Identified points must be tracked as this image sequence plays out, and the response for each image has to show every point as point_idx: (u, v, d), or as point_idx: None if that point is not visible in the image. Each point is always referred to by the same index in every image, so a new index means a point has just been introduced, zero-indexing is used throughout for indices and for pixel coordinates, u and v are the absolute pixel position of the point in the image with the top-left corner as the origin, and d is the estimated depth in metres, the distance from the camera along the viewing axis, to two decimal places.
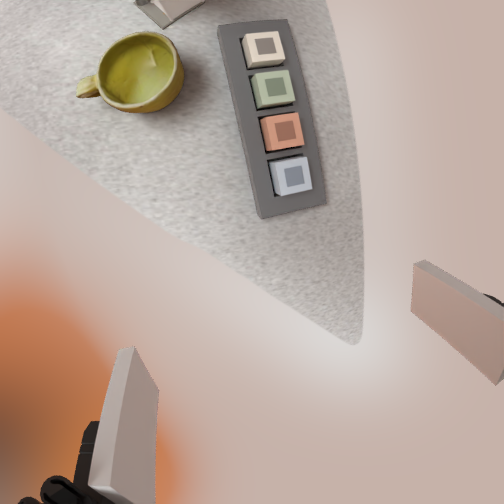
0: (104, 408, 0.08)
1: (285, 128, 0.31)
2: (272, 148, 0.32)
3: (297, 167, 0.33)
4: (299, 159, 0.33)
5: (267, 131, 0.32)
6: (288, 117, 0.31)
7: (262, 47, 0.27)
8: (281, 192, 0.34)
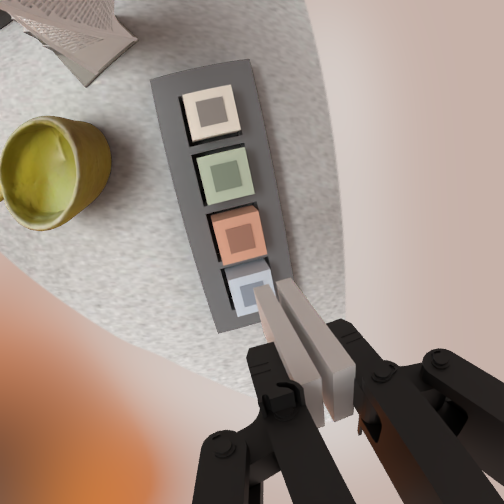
0: (270, 329, 0.10)
1: (240, 235, 0.25)
2: (223, 262, 0.26)
3: (257, 284, 0.27)
4: (260, 273, 0.26)
5: None
6: (244, 220, 0.25)
7: (207, 113, 0.21)
8: (237, 313, 0.27)
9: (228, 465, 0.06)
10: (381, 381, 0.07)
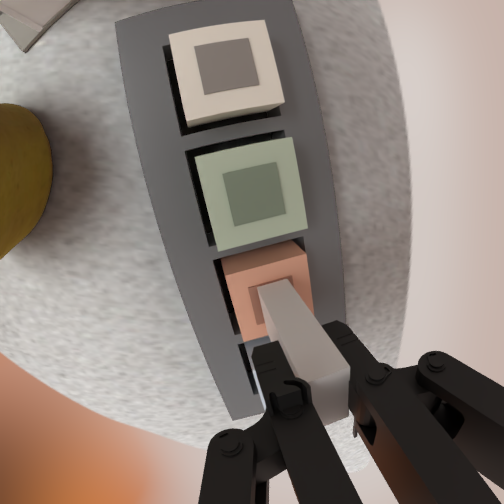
0: (275, 327, 0.10)
1: None
2: (243, 337, 0.15)
3: None
4: None
5: None
6: (281, 270, 0.14)
7: (217, 69, 0.10)
8: (265, 407, 0.16)
9: (235, 464, 0.06)
10: (375, 384, 0.07)
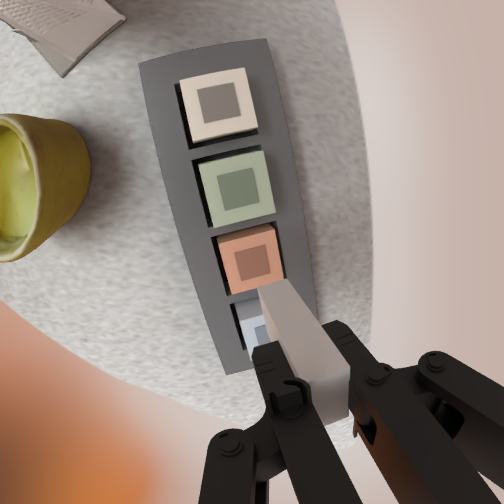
0: (275, 327, 0.10)
1: (252, 259, 0.20)
2: (232, 291, 0.21)
3: None
4: None
5: None
6: (257, 240, 0.20)
7: (212, 105, 0.16)
8: (250, 357, 0.22)
9: (235, 464, 0.06)
10: (376, 384, 0.07)
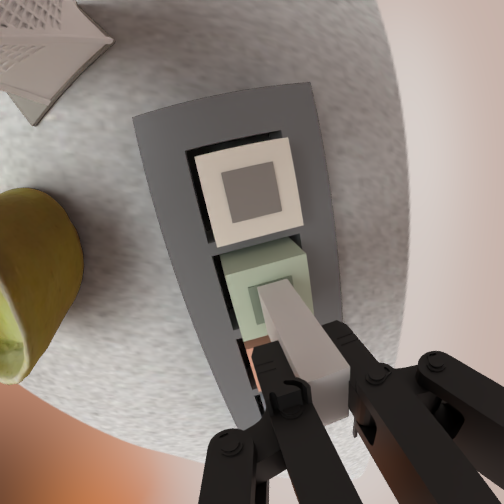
0: (275, 327, 0.10)
1: None
2: (259, 388, 0.18)
3: None
4: None
5: None
6: None
7: (243, 196, 0.12)
8: None
9: (235, 464, 0.06)
10: (376, 384, 0.07)
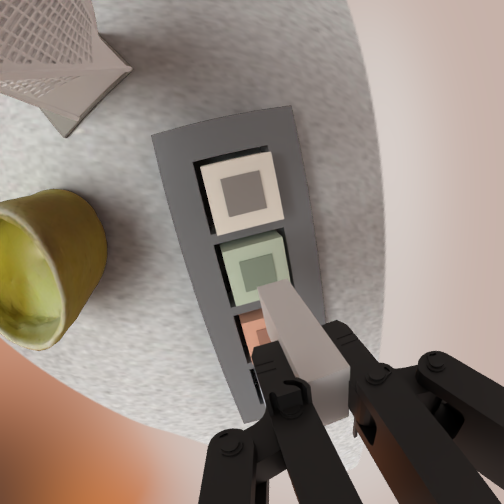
0: (275, 327, 0.10)
1: None
2: None
3: None
4: None
5: None
6: None
7: (237, 197, 0.16)
8: None
9: (235, 464, 0.06)
10: (375, 384, 0.07)
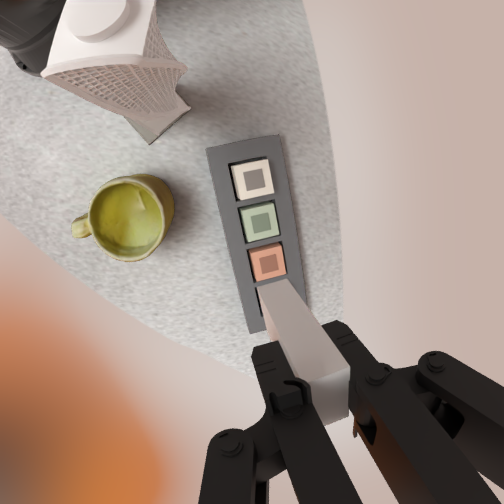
0: (275, 327, 0.10)
1: (269, 262, 0.37)
2: (257, 279, 0.38)
3: None
4: None
5: (252, 264, 0.38)
6: (271, 251, 0.37)
7: (251, 181, 0.33)
8: None
9: (235, 464, 0.06)
10: (375, 384, 0.07)
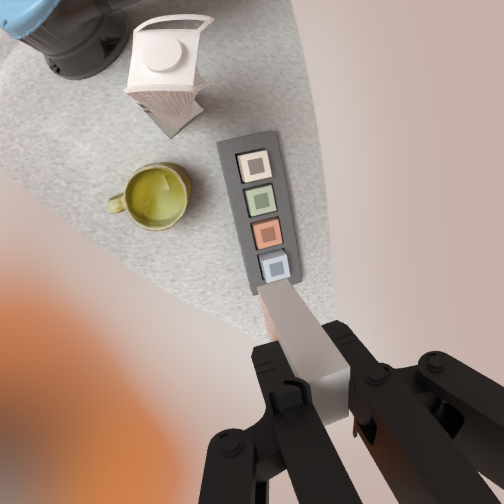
0: (275, 327, 0.10)
1: (268, 233, 0.46)
2: (258, 247, 0.47)
3: (278, 263, 0.46)
4: (280, 256, 0.46)
5: (255, 235, 0.46)
6: (270, 224, 0.46)
7: (253, 167, 0.41)
8: (267, 280, 0.47)
9: (235, 464, 0.06)
10: (375, 384, 0.07)
